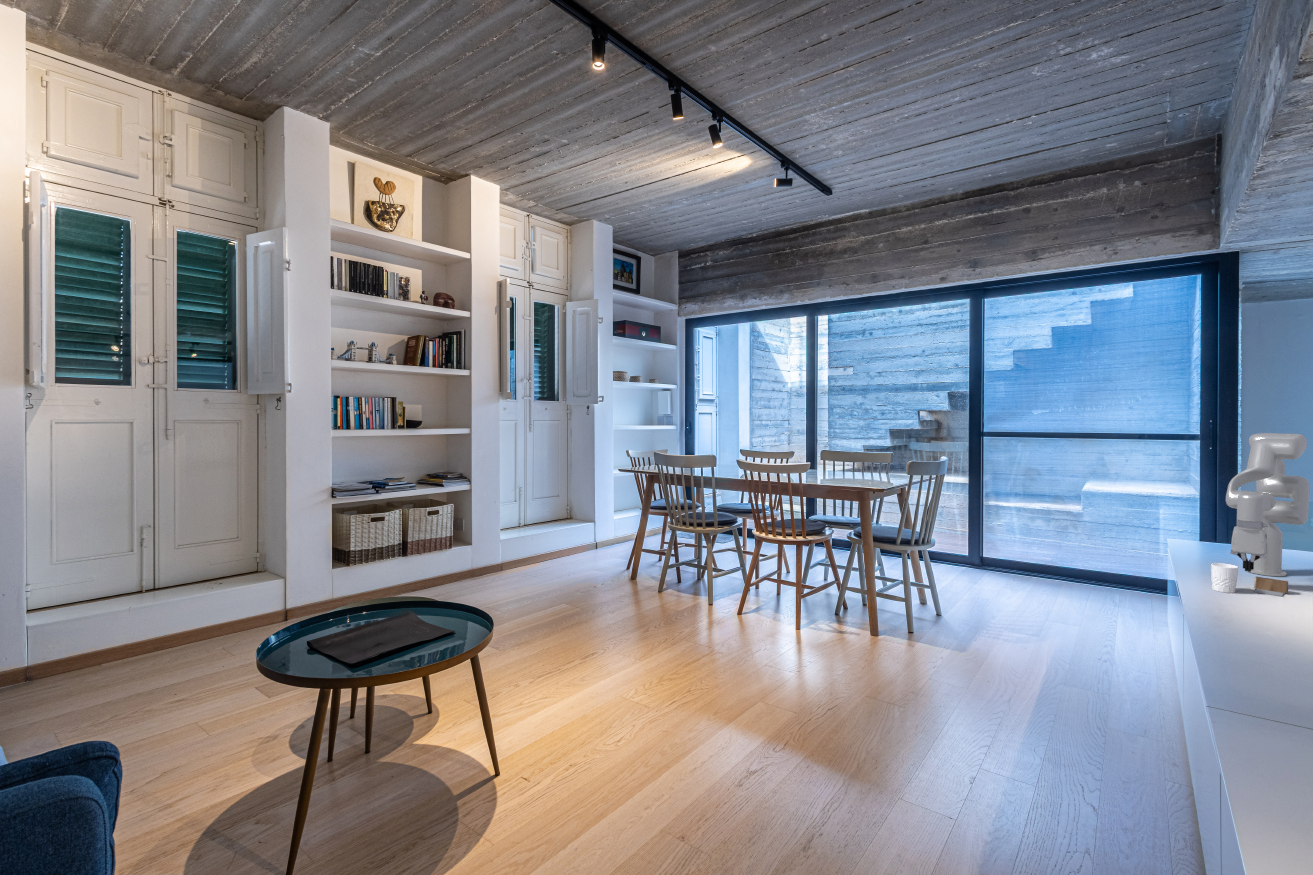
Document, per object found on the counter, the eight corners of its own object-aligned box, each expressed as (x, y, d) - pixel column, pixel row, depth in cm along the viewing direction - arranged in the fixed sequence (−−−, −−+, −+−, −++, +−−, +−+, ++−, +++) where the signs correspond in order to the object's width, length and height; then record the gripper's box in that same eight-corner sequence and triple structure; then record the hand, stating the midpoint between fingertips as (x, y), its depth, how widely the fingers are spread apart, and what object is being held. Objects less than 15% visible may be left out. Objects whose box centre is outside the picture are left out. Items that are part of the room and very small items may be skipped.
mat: (1260, 585, 248) (1260, 584, 248) (1286, 589, 242) (1286, 588, 242) (1254, 592, 239) (1254, 591, 239) (1281, 596, 233) (1281, 595, 233)
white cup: (1226, 587, 245) (1227, 562, 245) (1243, 593, 237) (1244, 568, 237) (1204, 587, 246) (1205, 562, 245) (1220, 593, 238) (1221, 567, 237)
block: (1256, 576, 245) (1288, 581, 238) (1255, 586, 245) (1287, 591, 238) (1254, 578, 243) (1286, 582, 236) (1253, 588, 243) (1286, 593, 236)
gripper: (1277, 526, 241) (1275, 572, 242) (1225, 521, 253) (1224, 565, 253) (1275, 528, 236) (1273, 576, 237) (1222, 523, 248) (1221, 568, 249)
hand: (1248, 570), depth 245 cm, fingers closed
